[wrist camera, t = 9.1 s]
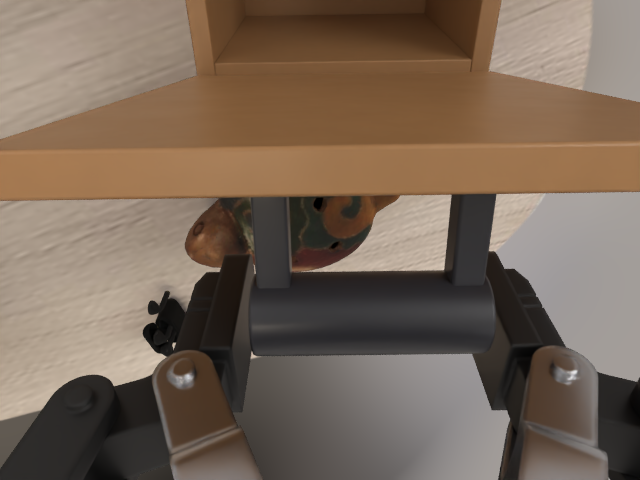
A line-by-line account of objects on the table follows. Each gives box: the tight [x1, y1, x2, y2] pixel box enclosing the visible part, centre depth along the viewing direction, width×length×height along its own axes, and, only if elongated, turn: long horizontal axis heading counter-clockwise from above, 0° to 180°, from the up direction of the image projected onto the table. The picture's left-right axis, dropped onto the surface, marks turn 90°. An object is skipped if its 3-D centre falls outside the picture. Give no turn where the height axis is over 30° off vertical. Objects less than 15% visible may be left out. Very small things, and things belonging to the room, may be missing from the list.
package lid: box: [0, 71, 640, 356], centre depth 15 cm, size 14×13×5 cm
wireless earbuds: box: [143, 291, 185, 357], centre depth 42 cm, size 7×2×5 cm, turn 18°
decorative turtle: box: [185, 195, 400, 272], centre depth 34 cm, size 10×15×8 cm, turn 109°
